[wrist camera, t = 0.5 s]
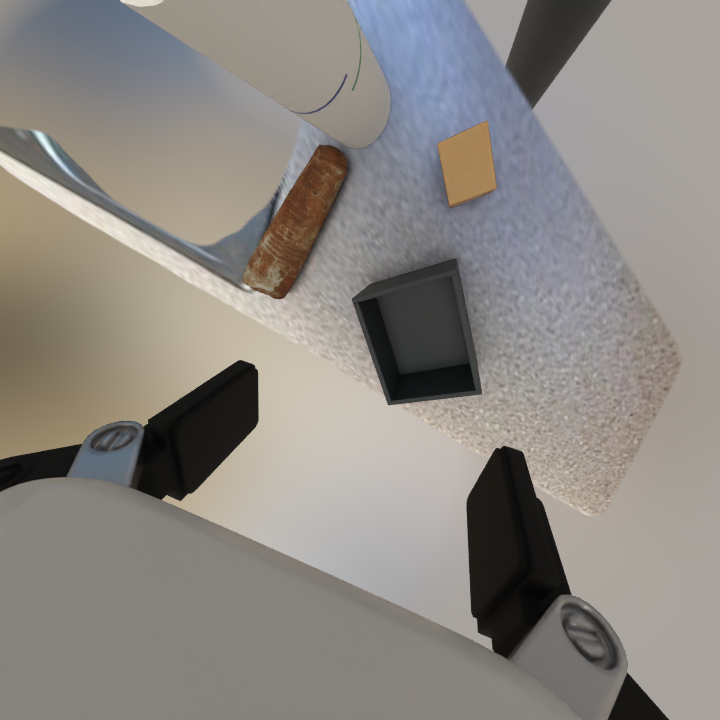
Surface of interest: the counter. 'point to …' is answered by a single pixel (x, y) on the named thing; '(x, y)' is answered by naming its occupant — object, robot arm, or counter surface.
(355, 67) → the cylindrical container
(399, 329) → the bin
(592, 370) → the counter surface
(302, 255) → the bread
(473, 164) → the carton
